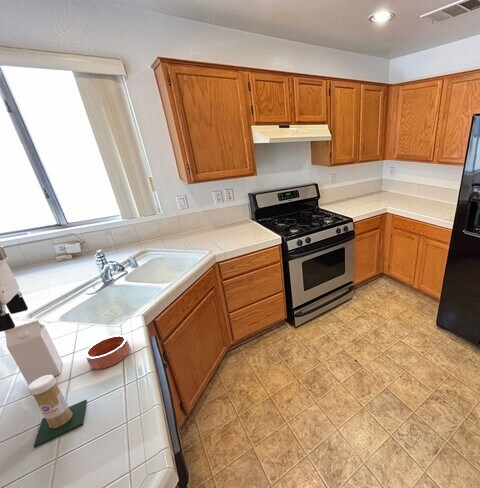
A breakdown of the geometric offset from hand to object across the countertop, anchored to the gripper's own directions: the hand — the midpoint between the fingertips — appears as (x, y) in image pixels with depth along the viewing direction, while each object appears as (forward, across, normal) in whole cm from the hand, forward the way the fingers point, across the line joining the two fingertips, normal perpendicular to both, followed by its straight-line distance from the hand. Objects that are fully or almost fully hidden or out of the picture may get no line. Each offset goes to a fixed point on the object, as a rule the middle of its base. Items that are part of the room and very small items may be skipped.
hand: (13, 320), depth 67 cm
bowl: (+27, -11, +13) cm, 32 cm away
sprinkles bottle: (+27, +11, +4) cm, 29 cm away
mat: (+27, +11, +4) cm, 30 cm away
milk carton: (+28, -16, -4) cm, 32 cm away
